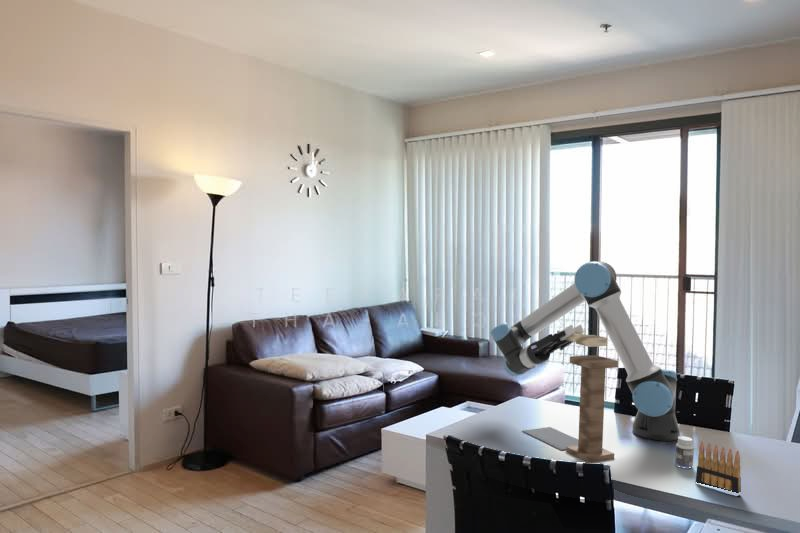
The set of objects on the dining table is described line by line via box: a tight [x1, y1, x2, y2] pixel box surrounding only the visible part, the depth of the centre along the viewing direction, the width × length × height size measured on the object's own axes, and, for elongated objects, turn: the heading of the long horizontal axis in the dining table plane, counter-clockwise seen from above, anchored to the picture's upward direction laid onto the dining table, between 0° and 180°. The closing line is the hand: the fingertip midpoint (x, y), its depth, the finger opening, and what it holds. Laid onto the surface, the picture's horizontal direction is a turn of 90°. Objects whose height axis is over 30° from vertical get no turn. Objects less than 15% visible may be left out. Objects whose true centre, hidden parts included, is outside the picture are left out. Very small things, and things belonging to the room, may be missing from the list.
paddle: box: [556, 329, 608, 348], centre depth 181 cm, size 17×7×2 cm, turn 25°
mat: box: [521, 426, 579, 452], centre depth 191 cm, size 20×12×1 cm, turn 25°
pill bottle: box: [674, 435, 695, 469], centre depth 169 cm, size 5×5×8 cm
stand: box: [565, 354, 619, 463], centre depth 176 cm, size 10×10×30 cm
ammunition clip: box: [695, 441, 742, 493], centre depth 152 cm, size 11×2×12 cm, turn 41°
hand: (577, 328), depth 182 cm, fingers closed on paddle, 3 cm apart
